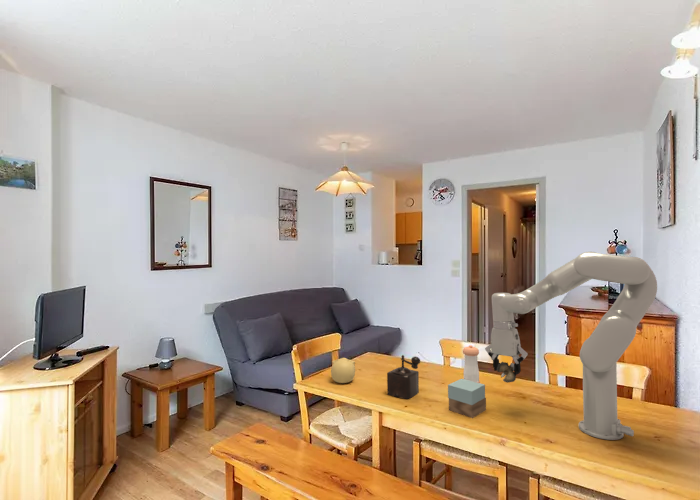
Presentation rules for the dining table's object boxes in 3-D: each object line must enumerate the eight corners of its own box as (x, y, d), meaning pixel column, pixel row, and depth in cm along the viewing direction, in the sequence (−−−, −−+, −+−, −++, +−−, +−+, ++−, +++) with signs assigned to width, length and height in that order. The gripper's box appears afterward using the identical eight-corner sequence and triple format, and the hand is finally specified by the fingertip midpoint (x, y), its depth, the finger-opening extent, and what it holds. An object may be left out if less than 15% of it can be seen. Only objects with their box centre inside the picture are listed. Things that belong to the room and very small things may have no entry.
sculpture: (356, 377, 187) (356, 355, 187) (353, 385, 175) (352, 362, 175) (333, 376, 188) (333, 354, 188) (329, 385, 176) (328, 361, 177)
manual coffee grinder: (385, 395, 163) (384, 353, 163) (398, 387, 172) (397, 347, 172) (418, 403, 153) (417, 358, 154) (430, 394, 162) (429, 352, 162)
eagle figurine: (493, 371, 149) (491, 373, 140) (503, 356, 148) (502, 357, 140) (511, 383, 145) (511, 386, 137) (521, 368, 145) (522, 370, 137)
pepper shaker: (459, 388, 169) (459, 345, 169) (468, 384, 174) (467, 342, 174) (474, 392, 164) (473, 348, 164) (483, 388, 168) (482, 345, 169)
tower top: (485, 397, 146) (484, 384, 146) (472, 405, 139) (471, 391, 139) (461, 391, 153) (461, 378, 153) (448, 397, 146) (447, 384, 146)
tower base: (486, 410, 146) (485, 397, 146) (472, 418, 139) (472, 405, 139) (463, 403, 153) (462, 390, 153) (448, 410, 146) (448, 397, 146)
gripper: (531, 325, 141) (534, 373, 141) (487, 322, 154) (490, 365, 154) (522, 328, 136) (525, 378, 136) (477, 324, 149) (480, 370, 149)
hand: (506, 371), depth 145 cm, fingers closed on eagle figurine, 7 cm apart
